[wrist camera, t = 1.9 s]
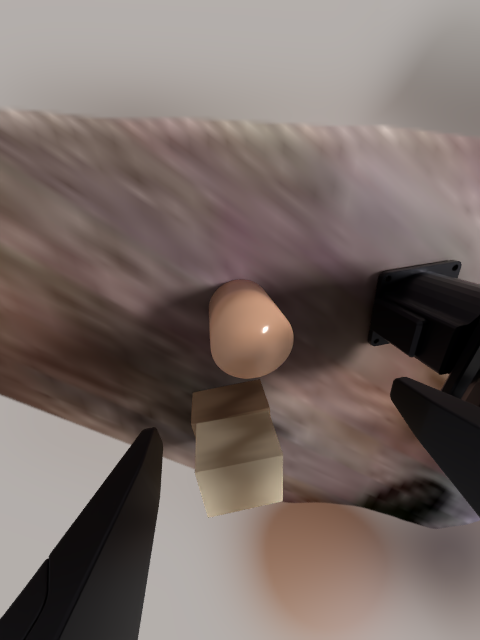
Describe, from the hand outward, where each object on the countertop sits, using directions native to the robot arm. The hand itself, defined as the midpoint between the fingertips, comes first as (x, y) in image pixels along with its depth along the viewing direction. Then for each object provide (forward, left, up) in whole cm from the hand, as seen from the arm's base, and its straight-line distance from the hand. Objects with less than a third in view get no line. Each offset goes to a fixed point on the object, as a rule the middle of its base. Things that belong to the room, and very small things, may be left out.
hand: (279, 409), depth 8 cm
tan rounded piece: (0, 0, -9) cm, 9 cm away
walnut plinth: (+2, +10, -10) cm, 14 cm away
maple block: (+2, +10, -6) cm, 12 cm away
